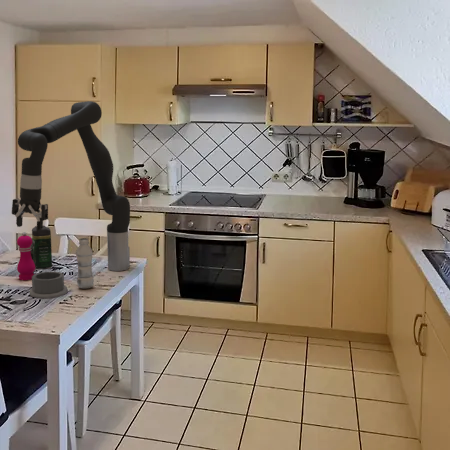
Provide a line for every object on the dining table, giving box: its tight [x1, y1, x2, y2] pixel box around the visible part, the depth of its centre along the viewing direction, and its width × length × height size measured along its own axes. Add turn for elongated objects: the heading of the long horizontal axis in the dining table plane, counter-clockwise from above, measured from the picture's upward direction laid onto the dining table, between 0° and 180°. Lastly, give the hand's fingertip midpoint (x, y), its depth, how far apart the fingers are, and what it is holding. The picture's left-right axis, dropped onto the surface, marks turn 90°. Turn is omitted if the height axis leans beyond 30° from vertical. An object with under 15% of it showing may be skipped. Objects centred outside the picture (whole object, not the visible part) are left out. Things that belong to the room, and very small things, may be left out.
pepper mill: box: [16, 231, 36, 281], centre depth 228 cm, size 7×7×20 cm
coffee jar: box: [31, 225, 53, 270], centre depth 246 cm, size 10×8×19 cm
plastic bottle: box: [75, 237, 95, 290], centre depth 217 cm, size 6×7×20 cm
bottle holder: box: [28, 271, 68, 299], centre depth 212 cm, size 14×14×7 cm
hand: (29, 228), depth 207 cm, fingers open, 8 cm apart
